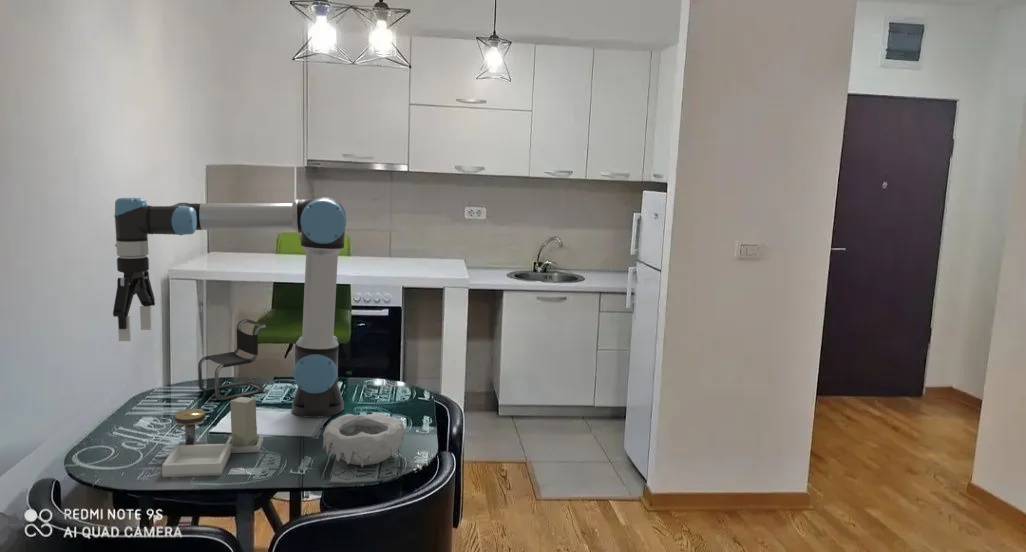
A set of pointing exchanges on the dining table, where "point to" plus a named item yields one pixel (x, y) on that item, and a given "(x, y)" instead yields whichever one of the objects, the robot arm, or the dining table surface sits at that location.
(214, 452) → the tray
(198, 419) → the mounted dome knob
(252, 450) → the pin seat
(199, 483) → the dining table surface
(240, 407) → the box
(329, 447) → the bowl
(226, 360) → the chair
